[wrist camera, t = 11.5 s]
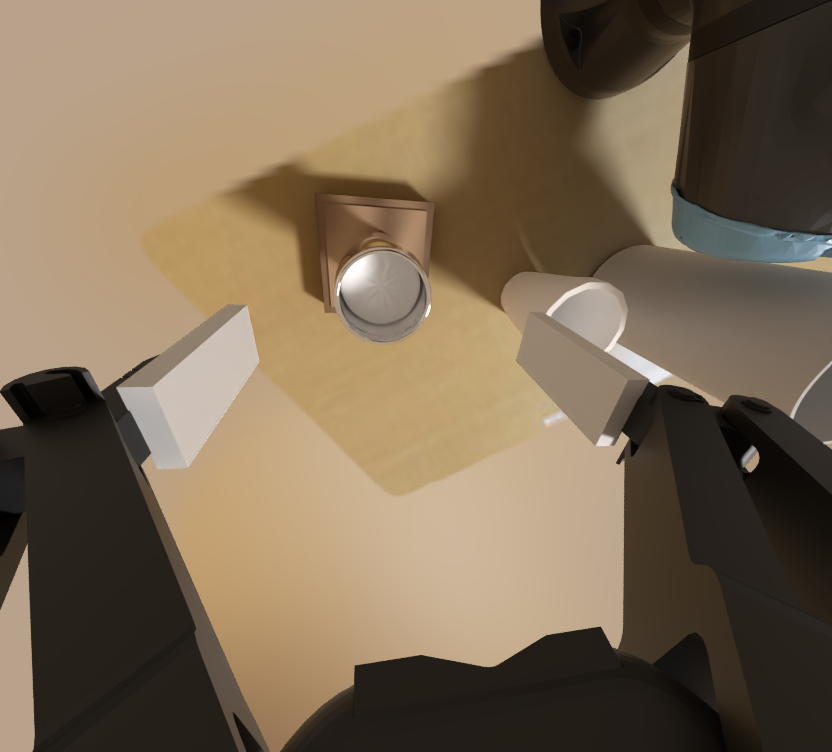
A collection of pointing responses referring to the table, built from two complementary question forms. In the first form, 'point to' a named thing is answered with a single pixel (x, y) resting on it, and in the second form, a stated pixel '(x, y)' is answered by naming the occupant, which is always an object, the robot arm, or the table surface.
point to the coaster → (368, 230)
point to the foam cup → (568, 304)
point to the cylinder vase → (732, 327)
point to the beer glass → (381, 290)
